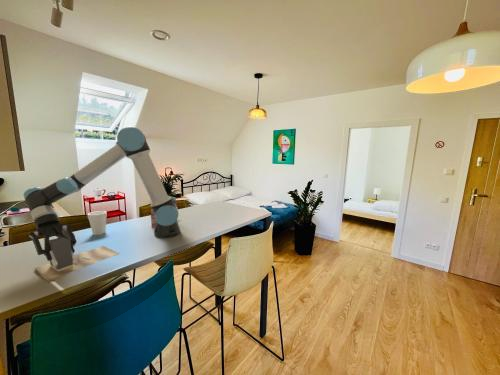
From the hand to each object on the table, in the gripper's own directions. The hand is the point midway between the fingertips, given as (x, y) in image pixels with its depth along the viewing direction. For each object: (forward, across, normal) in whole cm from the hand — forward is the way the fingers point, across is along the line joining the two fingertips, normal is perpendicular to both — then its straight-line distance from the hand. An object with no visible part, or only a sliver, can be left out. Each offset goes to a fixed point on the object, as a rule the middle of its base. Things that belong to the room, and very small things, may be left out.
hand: (65, 262), depth 87 cm
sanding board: (0, -6, -5) cm, 8 cm away
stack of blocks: (-13, -64, -19) cm, 68 cm away
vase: (-19, -11, -25) cm, 34 cm away
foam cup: (-23, -29, -29) cm, 47 cm away
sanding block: (-1, 0, -4) cm, 5 cm away
